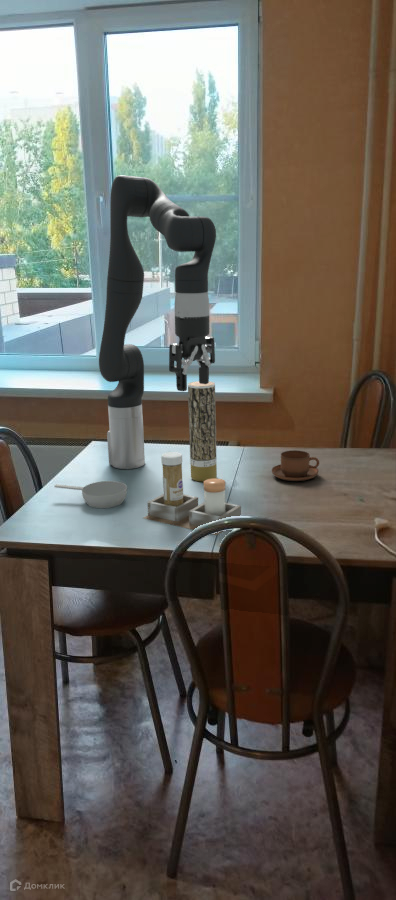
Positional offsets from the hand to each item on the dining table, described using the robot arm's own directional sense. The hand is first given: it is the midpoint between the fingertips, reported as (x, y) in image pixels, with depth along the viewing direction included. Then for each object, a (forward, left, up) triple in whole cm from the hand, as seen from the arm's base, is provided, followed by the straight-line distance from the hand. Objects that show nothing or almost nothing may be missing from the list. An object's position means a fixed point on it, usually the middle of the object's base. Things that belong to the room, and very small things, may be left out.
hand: (193, 387), depth 154 cm
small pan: (-23, -11, -28) cm, 38 cm away
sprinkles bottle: (0, -9, -27) cm, 28 cm away
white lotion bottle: (+11, -10, -27) cm, 30 cm away
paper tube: (-8, +16, -28) cm, 34 cm away
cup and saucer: (+12, +29, -28) cm, 42 cm away
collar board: (+6, -10, -28) cm, 30 cm away
